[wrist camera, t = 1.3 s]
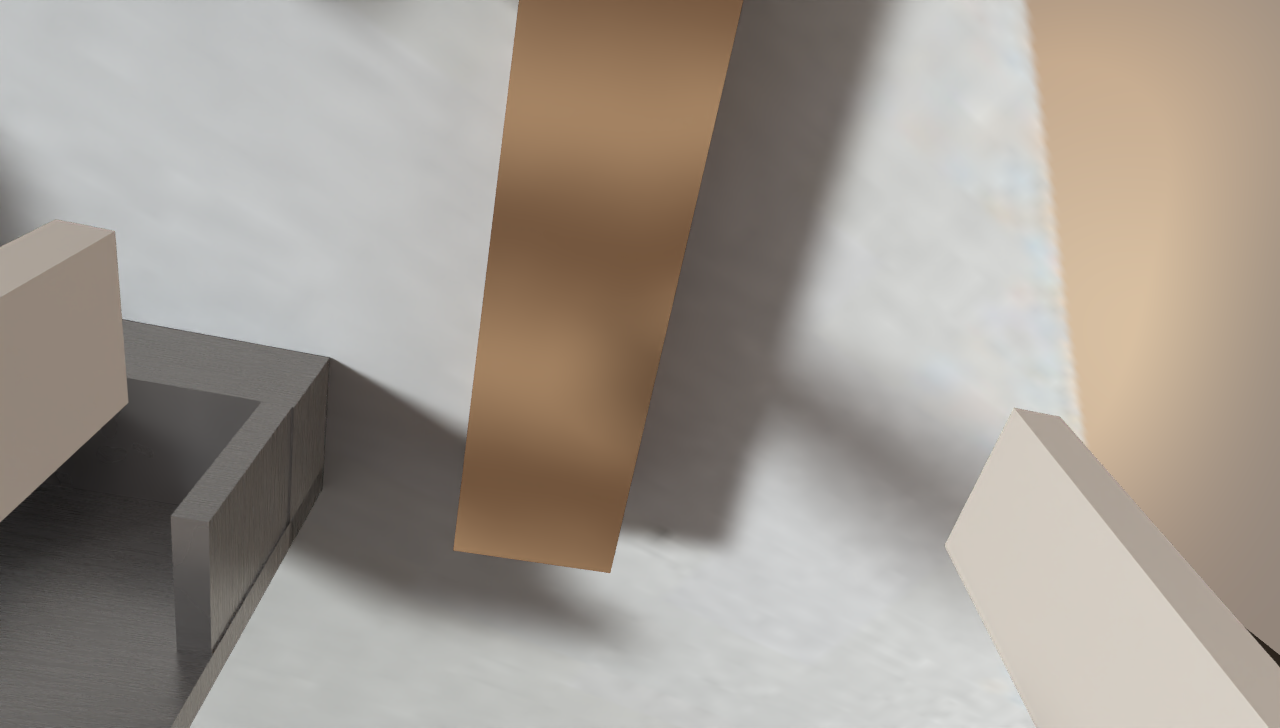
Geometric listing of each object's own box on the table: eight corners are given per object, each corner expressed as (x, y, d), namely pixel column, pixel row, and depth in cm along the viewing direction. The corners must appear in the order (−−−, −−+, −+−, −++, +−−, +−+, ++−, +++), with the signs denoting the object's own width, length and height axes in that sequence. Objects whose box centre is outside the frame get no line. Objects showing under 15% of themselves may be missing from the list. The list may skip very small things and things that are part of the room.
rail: (612, 482, 28) (610, 572, 24) (478, 460, 27) (453, 550, 23) (757, -178, 19) (792, -210, 15) (567, -223, 19) (550, -269, 15)
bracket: (322, 489, 27) (150, 796, 17) (61, 446, 26) (-274, 743, 17) (329, 357, 25) (138, 624, 15) (44, 305, 24) (-353, 552, 14)
